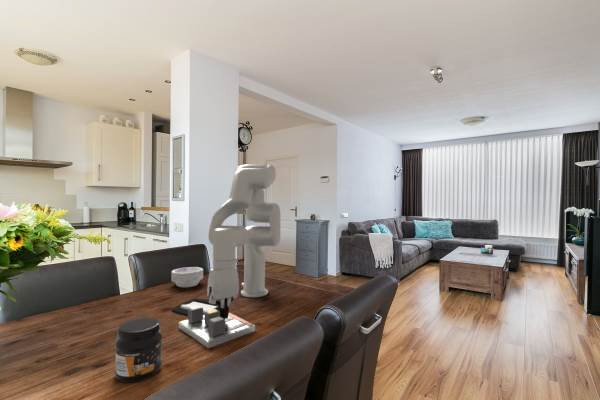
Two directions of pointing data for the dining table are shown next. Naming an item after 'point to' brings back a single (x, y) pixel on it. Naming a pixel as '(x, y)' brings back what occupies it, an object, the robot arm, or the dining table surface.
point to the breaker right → (216, 326)
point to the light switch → (193, 302)
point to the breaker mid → (211, 315)
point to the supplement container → (138, 349)
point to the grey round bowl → (187, 276)
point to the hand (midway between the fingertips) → (223, 317)
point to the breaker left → (195, 314)
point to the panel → (232, 330)
